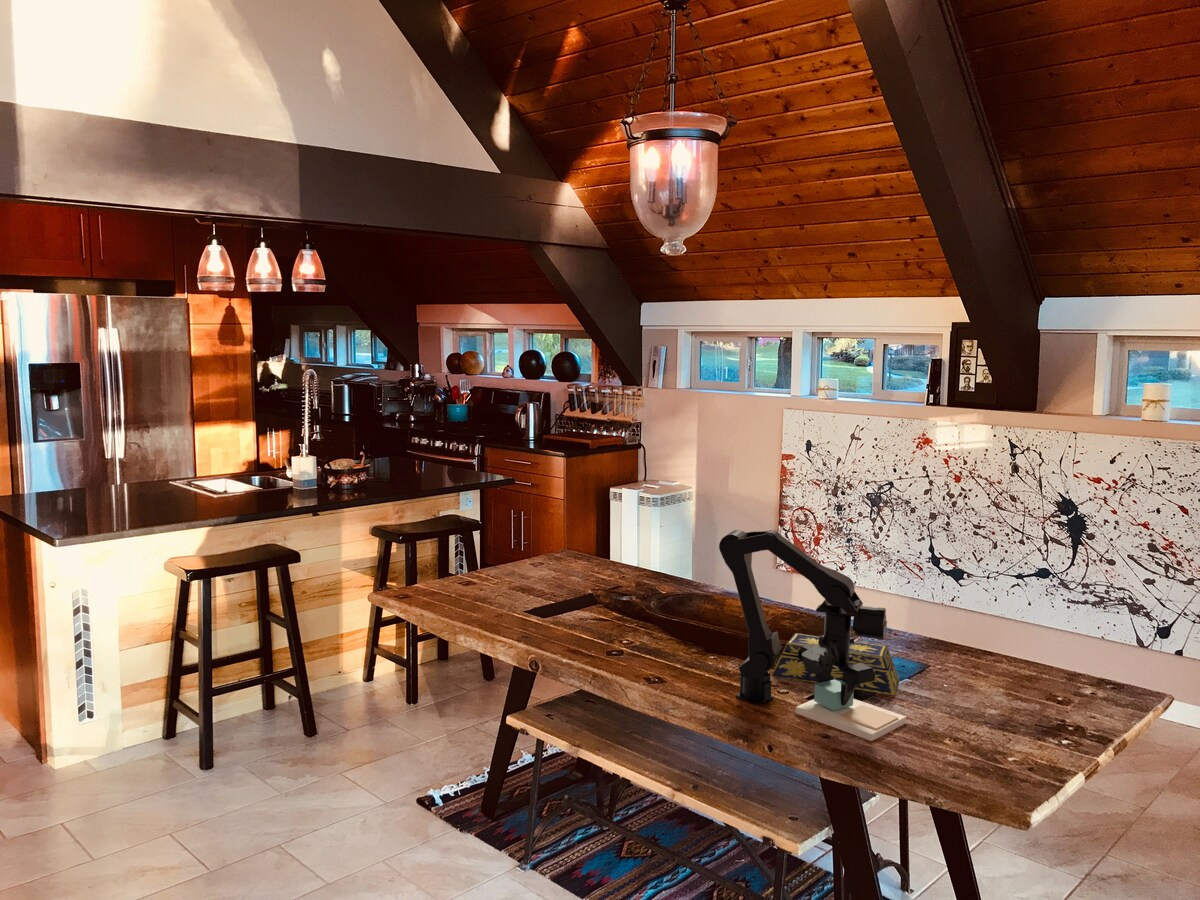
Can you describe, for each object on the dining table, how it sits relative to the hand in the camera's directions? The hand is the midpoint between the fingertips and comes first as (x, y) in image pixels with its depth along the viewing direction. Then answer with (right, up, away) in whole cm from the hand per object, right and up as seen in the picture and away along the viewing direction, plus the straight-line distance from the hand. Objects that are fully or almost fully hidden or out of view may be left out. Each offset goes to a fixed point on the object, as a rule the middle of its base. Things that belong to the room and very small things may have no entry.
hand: (833, 700), depth 213 cm
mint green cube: (0, -1, 0) cm, 1 cm away
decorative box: (+6, -1, +21) cm, 22 cm away
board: (+3, -3, -3) cm, 5 cm away
